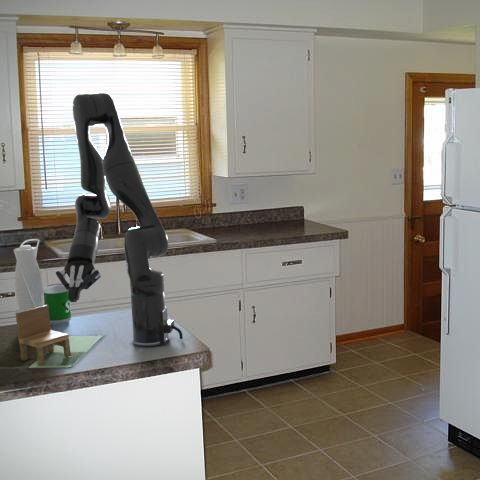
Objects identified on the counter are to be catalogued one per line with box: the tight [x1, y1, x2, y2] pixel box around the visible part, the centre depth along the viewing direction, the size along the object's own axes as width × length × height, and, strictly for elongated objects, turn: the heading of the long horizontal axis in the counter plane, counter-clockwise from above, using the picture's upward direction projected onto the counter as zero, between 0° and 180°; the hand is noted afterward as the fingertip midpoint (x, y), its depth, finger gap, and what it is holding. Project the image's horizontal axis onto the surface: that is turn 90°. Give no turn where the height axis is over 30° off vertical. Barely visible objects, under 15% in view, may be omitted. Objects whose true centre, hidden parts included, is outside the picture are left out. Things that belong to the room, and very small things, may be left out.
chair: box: [15, 304, 71, 366], centre depth 192 cm, size 9×9×13 cm
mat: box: [28, 334, 104, 369], centre depth 200 cm, size 11×28×1 cm, turn 0°
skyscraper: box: [13, 238, 44, 312], centre depth 216 cm, size 8×8×28 cm
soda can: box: [43, 282, 72, 326], centre depth 227 cm, size 8×8×12 cm
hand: (72, 300), depth 204 cm, fingers closed
